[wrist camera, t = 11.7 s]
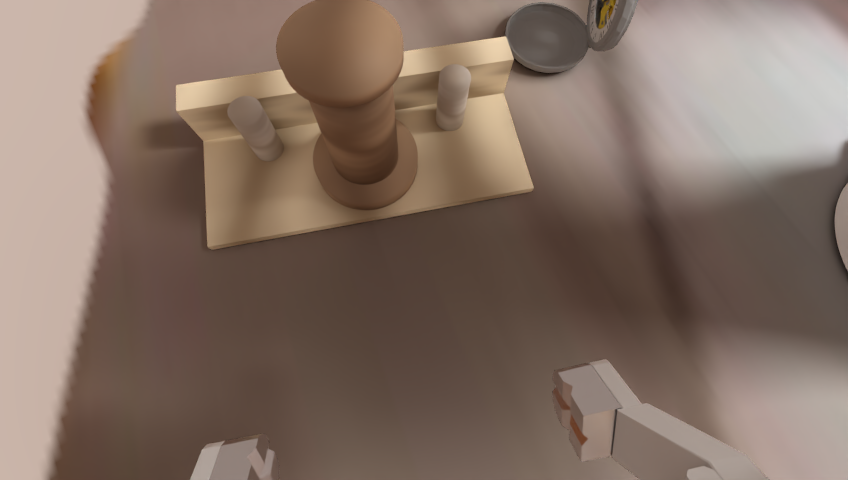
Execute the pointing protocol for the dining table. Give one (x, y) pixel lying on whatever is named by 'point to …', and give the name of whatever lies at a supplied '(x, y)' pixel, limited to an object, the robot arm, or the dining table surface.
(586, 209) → the dining table surface
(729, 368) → the dining table surface
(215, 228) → the peg rack
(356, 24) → the flanged spool
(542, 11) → the pocket watch
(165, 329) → the dining table surface
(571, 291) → the dining table surface
